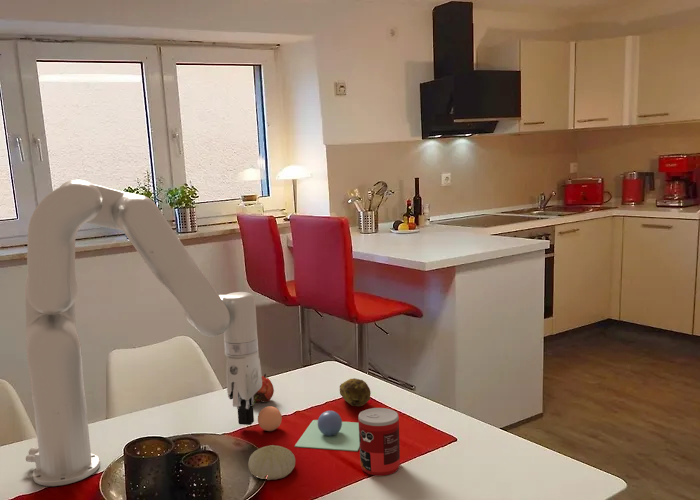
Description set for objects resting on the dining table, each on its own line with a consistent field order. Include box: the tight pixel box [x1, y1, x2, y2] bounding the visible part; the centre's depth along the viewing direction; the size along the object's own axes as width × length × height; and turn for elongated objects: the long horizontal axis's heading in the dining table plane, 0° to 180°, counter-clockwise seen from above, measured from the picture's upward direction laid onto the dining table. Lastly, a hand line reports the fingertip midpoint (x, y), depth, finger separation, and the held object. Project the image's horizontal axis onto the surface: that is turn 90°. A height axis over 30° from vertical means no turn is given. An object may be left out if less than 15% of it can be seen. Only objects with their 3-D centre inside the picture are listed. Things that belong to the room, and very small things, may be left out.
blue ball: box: [317, 410, 343, 436], centre depth 142 cm, size 6×6×6 cm
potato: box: [339, 378, 372, 407], centre depth 158 cm, size 8×13×8 cm, turn 175°
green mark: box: [294, 419, 360, 452], centre depth 142 cm, size 14×14×1 cm
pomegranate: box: [251, 373, 275, 407], centre depth 163 cm, size 7×7×10 cm
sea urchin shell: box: [247, 444, 296, 481], centre depth 126 cm, size 9×8×8 cm
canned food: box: [358, 407, 401, 477], centre depth 126 cm, size 8×8×11 cm
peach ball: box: [257, 405, 283, 432], centre depth 146 cm, size 6×6×6 cm
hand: (246, 423), depth 147 cm, fingers closed
